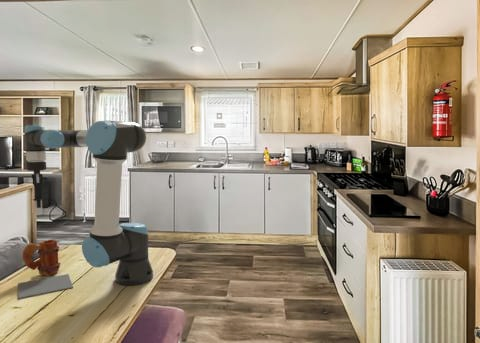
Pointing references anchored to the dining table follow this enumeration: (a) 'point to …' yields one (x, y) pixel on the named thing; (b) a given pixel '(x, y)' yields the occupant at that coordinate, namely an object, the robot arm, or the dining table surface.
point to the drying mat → (44, 286)
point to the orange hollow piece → (43, 257)
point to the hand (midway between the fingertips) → (39, 214)
